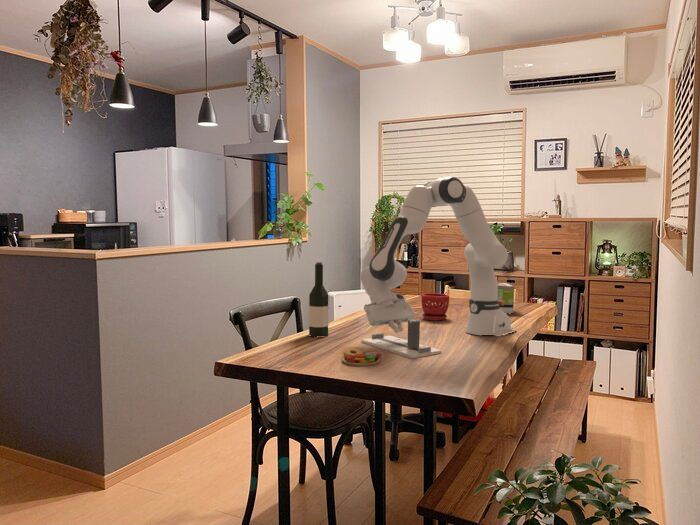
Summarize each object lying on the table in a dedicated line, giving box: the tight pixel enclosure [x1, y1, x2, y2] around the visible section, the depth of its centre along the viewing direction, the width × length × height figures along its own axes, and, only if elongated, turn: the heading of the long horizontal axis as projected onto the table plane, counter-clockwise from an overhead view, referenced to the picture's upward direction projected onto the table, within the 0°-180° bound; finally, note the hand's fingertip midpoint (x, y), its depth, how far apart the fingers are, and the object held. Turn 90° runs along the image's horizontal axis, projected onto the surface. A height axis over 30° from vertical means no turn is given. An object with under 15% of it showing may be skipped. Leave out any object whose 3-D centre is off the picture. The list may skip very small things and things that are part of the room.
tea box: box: [497, 282, 515, 314], centre depth 290 cm, size 15×10×15 cm
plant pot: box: [421, 292, 450, 321], centre depth 269 cm, size 13×13×12 cm
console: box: [360, 332, 442, 359], centre depth 210 cm, size 14×30×3 cm, turn 34°
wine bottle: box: [308, 261, 329, 338], centre depth 228 cm, size 8×8×30 cm
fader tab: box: [407, 319, 421, 349], centre depth 203 cm, size 3×3×10 cm
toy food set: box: [341, 348, 382, 367], centre depth 189 cm, size 13×13×3 cm
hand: (399, 331), depth 209 cm, fingers closed
